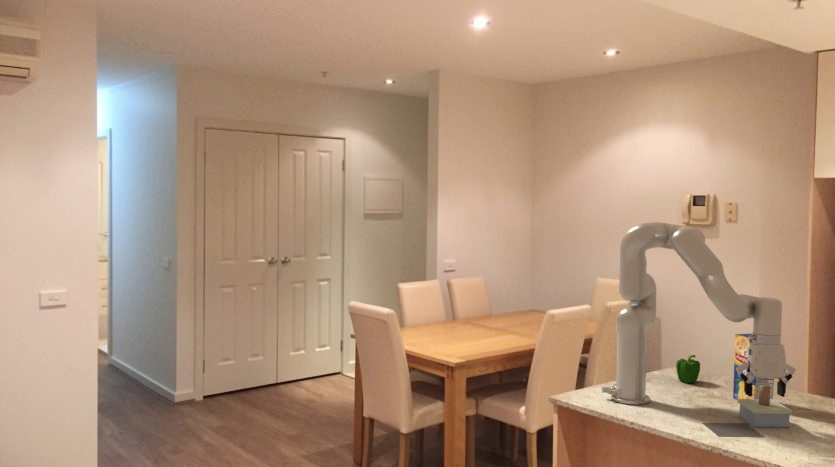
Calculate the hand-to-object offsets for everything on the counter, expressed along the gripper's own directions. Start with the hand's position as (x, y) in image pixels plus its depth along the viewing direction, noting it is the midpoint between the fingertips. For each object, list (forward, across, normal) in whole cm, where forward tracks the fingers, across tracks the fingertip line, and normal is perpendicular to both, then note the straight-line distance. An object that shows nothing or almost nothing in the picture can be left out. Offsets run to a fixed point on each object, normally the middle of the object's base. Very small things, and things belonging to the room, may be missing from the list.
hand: (764, 395), depth 211 cm
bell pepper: (+9, -5, +47) cm, 48 cm away
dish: (+9, 0, 0) cm, 9 cm away
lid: (+4, 0, 0) cm, 4 cm away
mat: (+9, -12, -7) cm, 17 cm away
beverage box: (+9, +7, +22) cm, 25 cm away
